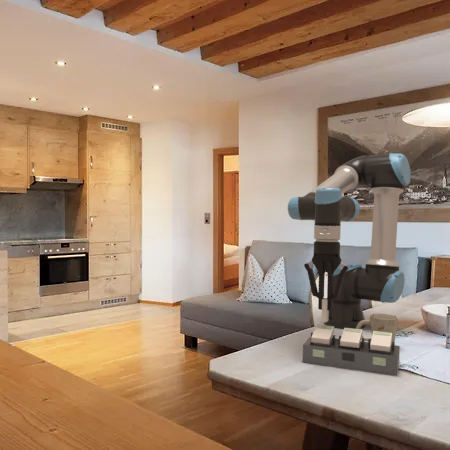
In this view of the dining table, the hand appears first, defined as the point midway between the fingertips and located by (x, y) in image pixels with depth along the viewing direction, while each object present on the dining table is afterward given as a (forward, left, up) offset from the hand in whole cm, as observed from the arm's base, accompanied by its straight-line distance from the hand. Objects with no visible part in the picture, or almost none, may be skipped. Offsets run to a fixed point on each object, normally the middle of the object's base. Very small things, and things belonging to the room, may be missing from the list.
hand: (324, 320), depth 136 cm
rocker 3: (+3, +16, -3) cm, 17 cm away
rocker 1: (+3, 0, -3) cm, 4 cm away
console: (+3, +8, -11) cm, 14 cm away
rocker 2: (+3, +8, -3) cm, 9 cm away
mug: (-17, +13, -11) cm, 24 cm away
